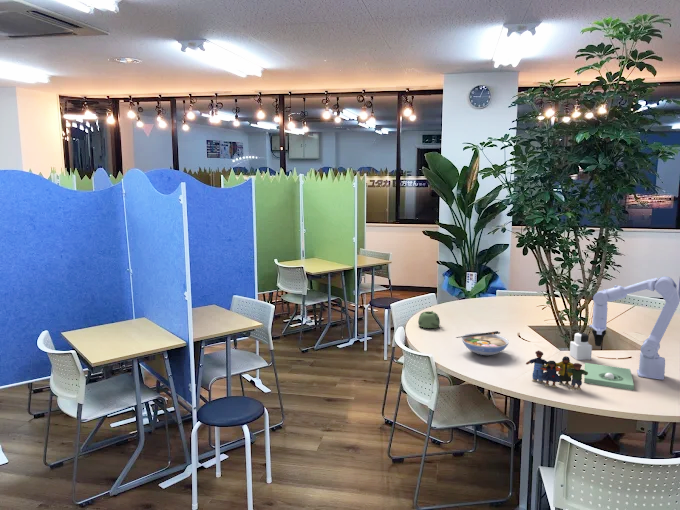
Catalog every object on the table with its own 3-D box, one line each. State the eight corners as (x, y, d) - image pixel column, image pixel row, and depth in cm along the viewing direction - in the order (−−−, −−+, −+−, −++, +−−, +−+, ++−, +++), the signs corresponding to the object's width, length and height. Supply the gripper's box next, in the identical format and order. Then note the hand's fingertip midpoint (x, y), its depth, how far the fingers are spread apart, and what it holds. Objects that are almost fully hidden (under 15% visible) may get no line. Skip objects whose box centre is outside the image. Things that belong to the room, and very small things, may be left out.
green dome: (437, 330, 283) (437, 316, 282) (415, 328, 288) (415, 314, 287) (442, 323, 297) (443, 309, 296) (422, 321, 302) (422, 307, 301)
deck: (629, 373, 216) (630, 369, 216) (633, 390, 198) (633, 385, 198) (584, 366, 224) (584, 362, 224) (584, 382, 206) (584, 378, 206)
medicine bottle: (583, 354, 240) (585, 331, 238) (591, 359, 233) (592, 335, 231) (569, 355, 240) (570, 331, 238) (576, 360, 233) (578, 336, 231)
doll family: (527, 386, 203) (528, 355, 202) (524, 377, 212) (526, 348, 210) (587, 391, 198) (589, 359, 196) (582, 382, 206) (584, 352, 205)
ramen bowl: (474, 364, 229) (474, 347, 228) (450, 348, 251) (451, 333, 250) (520, 358, 236) (520, 342, 235) (493, 344, 257) (493, 329, 256)
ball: (616, 381, 207) (613, 373, 209) (614, 378, 204) (611, 370, 206) (606, 383, 208) (604, 375, 210) (605, 380, 206) (602, 372, 208)
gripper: (590, 312, 231) (588, 340, 233) (590, 320, 218) (588, 349, 220) (606, 314, 228) (605, 342, 230) (607, 321, 215) (605, 351, 217)
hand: (597, 345), depth 225 cm, fingers closed
